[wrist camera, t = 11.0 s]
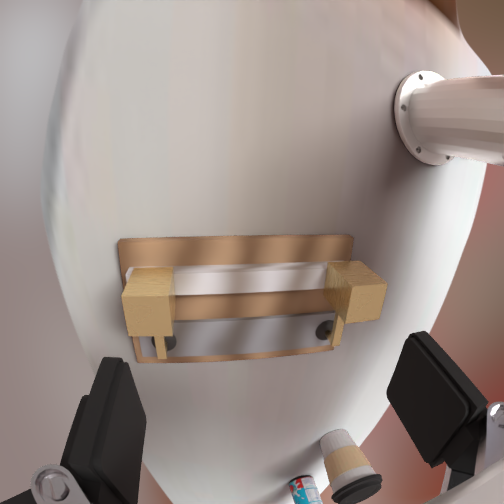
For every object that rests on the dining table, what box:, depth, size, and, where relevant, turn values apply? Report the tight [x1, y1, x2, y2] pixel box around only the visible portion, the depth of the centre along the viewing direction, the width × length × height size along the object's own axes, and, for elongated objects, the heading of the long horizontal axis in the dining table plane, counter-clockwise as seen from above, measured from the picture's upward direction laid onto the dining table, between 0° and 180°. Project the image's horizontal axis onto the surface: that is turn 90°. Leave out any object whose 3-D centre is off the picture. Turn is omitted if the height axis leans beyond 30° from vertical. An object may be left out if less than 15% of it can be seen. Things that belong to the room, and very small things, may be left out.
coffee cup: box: [320, 429, 382, 504], centre depth 43 cm, size 9×9×15 cm
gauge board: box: [118, 235, 354, 363], centre depth 34 cm, size 26×16×3 cm, turn 88°
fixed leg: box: [323, 261, 388, 346], centre depth 32 cm, size 4×10×7 cm, turn 178°
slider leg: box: [121, 267, 176, 359], centre depth 29 cm, size 4×10×7 cm, turn 178°
